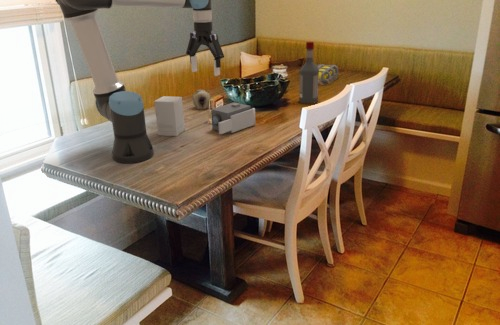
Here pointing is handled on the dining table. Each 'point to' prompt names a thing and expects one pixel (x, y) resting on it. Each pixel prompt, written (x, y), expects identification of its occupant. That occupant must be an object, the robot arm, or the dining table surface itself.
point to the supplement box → (169, 115)
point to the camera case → (226, 113)
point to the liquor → (309, 78)
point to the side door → (238, 121)
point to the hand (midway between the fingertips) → (205, 73)
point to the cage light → (327, 74)
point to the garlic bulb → (201, 99)
